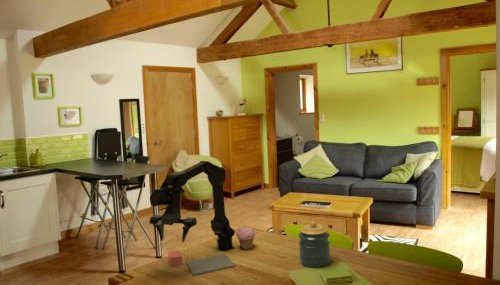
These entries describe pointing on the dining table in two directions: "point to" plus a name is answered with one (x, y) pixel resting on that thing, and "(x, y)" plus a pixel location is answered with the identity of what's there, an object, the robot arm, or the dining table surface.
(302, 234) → the canister
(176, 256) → the red block
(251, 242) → the cupcake
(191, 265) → the mat
